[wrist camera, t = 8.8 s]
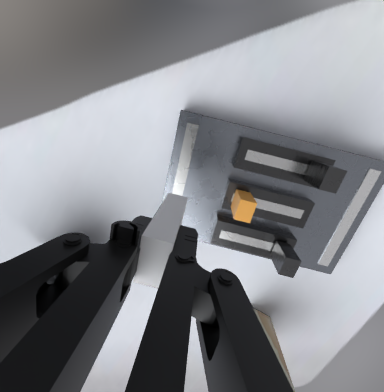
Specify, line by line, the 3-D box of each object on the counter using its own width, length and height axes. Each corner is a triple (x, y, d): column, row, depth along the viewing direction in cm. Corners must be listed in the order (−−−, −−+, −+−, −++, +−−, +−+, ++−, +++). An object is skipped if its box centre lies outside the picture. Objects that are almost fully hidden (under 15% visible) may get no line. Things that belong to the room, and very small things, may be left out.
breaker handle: (236, 189, 21) (240, 199, 18) (250, 192, 21) (257, 203, 18) (230, 206, 22) (233, 219, 19) (244, 210, 22) (249, 223, 19)
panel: (182, 110, 22) (172, 105, 16) (383, 161, 22) (447, 175, 16) (159, 224, 27) (144, 253, 21) (324, 266, 27) (357, 306, 21)
